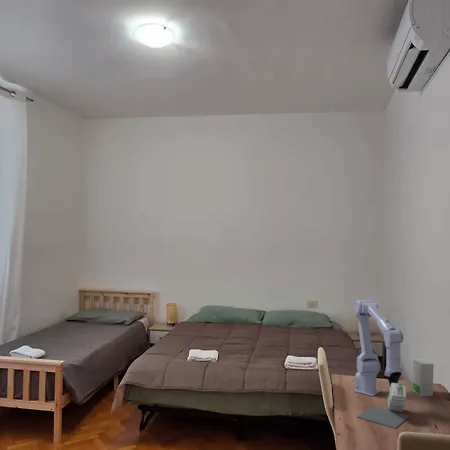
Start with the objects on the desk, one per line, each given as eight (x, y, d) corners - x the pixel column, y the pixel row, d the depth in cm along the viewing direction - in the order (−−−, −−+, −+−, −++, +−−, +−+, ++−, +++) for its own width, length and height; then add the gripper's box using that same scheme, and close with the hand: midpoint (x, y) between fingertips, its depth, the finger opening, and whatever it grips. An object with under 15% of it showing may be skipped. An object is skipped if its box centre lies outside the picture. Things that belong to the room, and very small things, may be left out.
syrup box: (402, 412, 195) (407, 397, 185) (387, 410, 196) (392, 395, 186) (401, 399, 199) (406, 383, 189) (387, 398, 200) (391, 382, 190)
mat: (357, 417, 189) (357, 416, 189) (372, 406, 200) (372, 406, 200) (395, 428, 179) (395, 427, 179) (409, 416, 190) (409, 415, 190)
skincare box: (411, 390, 221) (411, 358, 221) (424, 389, 222) (424, 358, 222) (420, 396, 213) (420, 363, 213) (434, 396, 213) (434, 363, 213)
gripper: (396, 363, 190) (396, 395, 190) (408, 355, 201) (408, 386, 200) (379, 359, 194) (379, 391, 194) (392, 352, 205) (392, 383, 205)
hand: (393, 388), depth 198 cm, fingers closed
